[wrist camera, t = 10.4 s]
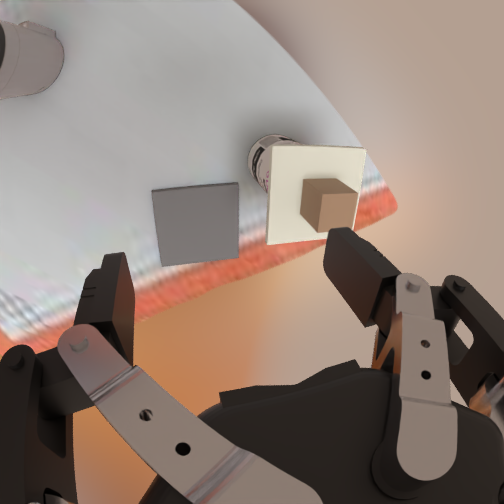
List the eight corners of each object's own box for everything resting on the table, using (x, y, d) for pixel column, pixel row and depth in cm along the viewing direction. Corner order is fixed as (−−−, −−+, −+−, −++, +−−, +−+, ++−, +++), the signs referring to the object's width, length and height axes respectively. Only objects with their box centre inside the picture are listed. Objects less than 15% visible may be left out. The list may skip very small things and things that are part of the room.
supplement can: (307, 156, 46) (358, 188, 33) (272, 193, 48) (311, 238, 35) (272, 122, 42) (317, 141, 29) (235, 163, 43) (264, 198, 31)
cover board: (270, 144, 28) (289, 157, 24) (362, 147, 31) (391, 160, 26) (265, 241, 34) (280, 267, 30) (348, 232, 36) (371, 254, 32)
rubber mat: (152, 190, 42) (151, 192, 41) (237, 182, 45) (238, 184, 44) (162, 263, 49) (162, 266, 48) (237, 254, 52) (238, 257, 51)
